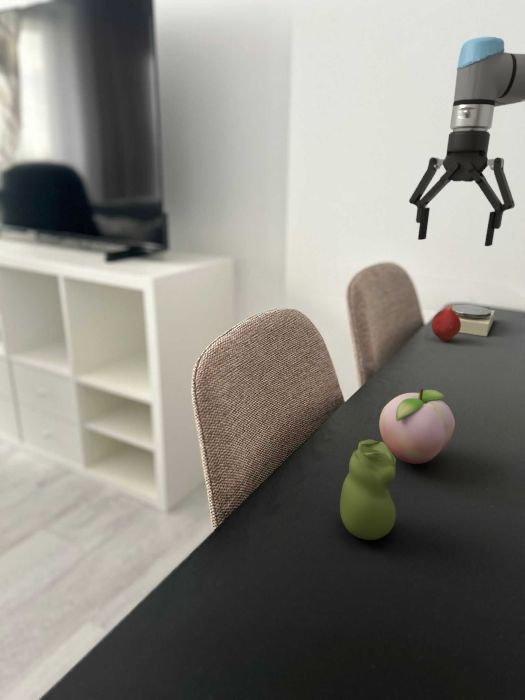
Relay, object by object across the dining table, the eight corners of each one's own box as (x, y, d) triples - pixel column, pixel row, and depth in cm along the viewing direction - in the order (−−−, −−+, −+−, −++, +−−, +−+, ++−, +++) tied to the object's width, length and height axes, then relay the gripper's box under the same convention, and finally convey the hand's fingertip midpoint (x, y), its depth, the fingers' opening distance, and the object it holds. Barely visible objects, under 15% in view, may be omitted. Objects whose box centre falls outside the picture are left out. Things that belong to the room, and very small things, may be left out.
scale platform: (452, 305, 126) (452, 302, 125) (492, 311, 122) (493, 307, 121) (445, 314, 118) (446, 310, 118) (488, 319, 114) (489, 316, 114)
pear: (332, 516, 53) (339, 430, 50) (382, 514, 54) (392, 428, 50) (346, 553, 48) (354, 460, 45) (401, 551, 48) (413, 458, 45)
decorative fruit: (396, 437, 69) (404, 368, 66) (456, 459, 64) (468, 386, 61) (361, 465, 63) (368, 390, 59) (425, 491, 58) (436, 411, 54)
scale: (452, 316, 130) (454, 302, 129) (492, 322, 126) (495, 308, 125) (441, 330, 119) (444, 315, 117) (486, 337, 114) (489, 321, 113)
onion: (430, 344, 109) (435, 307, 106) (428, 336, 114) (433, 301, 111) (459, 346, 107) (465, 309, 105) (456, 338, 113) (461, 303, 110)
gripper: (400, 131, 103) (389, 238, 110) (536, 127, 89) (514, 250, 96) (414, 133, 109) (403, 235, 116) (544, 130, 95) (523, 246, 102)
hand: (453, 242), depth 106 cm, fingers open, 13 cm apart
